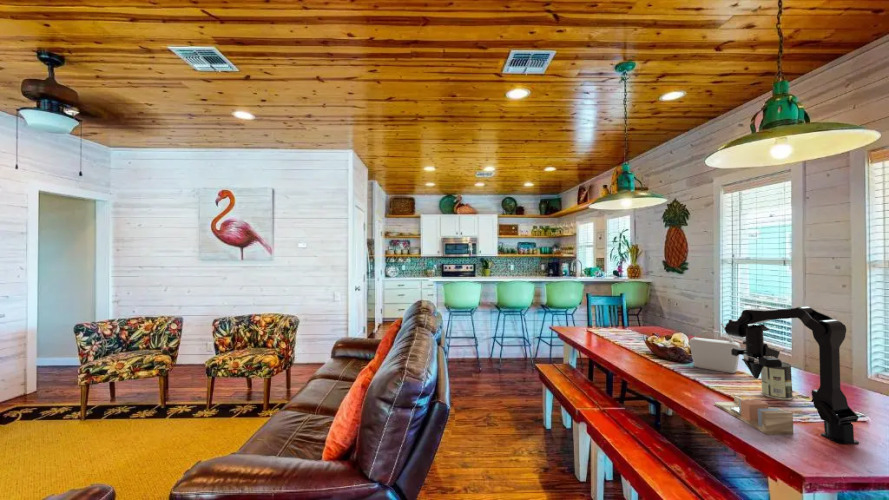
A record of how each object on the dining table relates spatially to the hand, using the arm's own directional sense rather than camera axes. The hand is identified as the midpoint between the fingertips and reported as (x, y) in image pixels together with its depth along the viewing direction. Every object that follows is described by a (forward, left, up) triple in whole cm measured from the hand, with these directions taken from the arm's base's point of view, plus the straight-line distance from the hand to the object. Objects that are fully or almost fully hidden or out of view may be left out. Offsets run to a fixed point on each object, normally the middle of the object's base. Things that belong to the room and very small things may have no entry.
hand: (756, 378), depth 150 cm
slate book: (-19, +10, -12) cm, 24 cm away
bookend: (-6, +10, -11) cm, 16 cm away
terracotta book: (-11, +10, -11) cm, 19 cm away
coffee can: (+12, -18, -12) cm, 25 cm away
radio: (+50, -18, -12) cm, 55 cm away
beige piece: (-9, +10, -12) cm, 18 cm away
